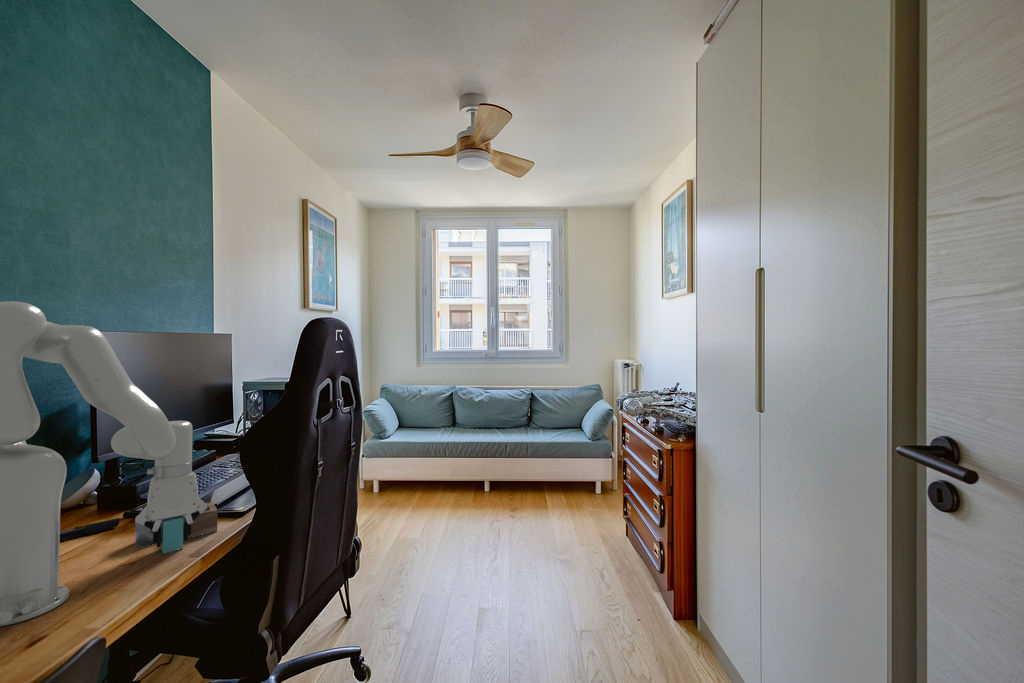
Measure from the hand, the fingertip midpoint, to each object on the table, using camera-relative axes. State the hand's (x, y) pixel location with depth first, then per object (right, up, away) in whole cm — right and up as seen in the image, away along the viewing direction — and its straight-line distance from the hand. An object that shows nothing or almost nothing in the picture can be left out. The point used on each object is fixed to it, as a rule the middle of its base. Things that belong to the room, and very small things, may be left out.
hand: (172, 541), depth 112 cm
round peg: (-9, -2, +4) cm, 10 cm away
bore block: (-2, -2, +11) cm, 11 cm away
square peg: (0, -2, 0) cm, 2 cm away
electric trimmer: (-31, -2, +7) cm, 31 cm away
